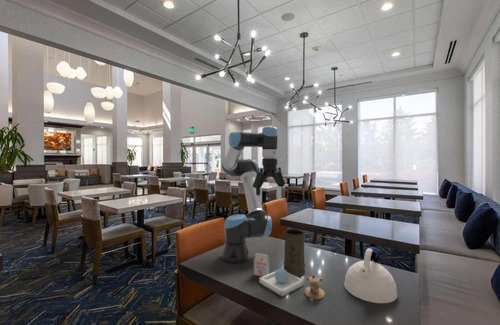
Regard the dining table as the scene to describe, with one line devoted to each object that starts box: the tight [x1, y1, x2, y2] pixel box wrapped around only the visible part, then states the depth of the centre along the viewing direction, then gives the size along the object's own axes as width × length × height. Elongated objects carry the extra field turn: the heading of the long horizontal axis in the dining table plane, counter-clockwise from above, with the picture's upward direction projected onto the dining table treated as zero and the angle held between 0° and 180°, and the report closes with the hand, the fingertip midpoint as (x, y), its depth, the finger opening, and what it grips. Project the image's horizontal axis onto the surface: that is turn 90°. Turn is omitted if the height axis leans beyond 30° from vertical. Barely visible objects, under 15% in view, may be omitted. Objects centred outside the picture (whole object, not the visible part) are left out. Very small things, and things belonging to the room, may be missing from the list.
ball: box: [274, 267, 288, 283], centre depth 108 cm, size 6×6×6 cm
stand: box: [304, 274, 326, 300], centre depth 101 cm, size 8×8×7 cm
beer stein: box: [283, 229, 306, 277], centre depth 123 cm, size 15×11×20 cm
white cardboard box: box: [253, 252, 271, 277], centre depth 117 cm, size 4×7×10 cm, turn 65°
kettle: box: [343, 246, 398, 304], centre depth 104 cm, size 20×21×18 cm
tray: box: [258, 270, 305, 297], centre depth 109 cm, size 14×14×2 cm
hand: (269, 200), depth 122 cm, fingers open, 13 cm apart
